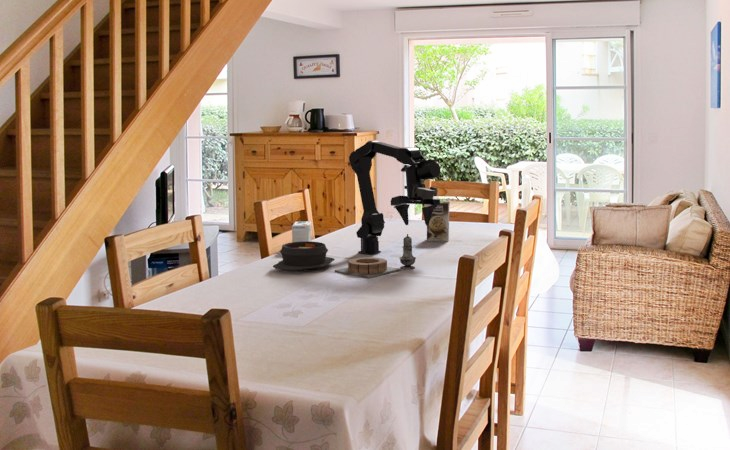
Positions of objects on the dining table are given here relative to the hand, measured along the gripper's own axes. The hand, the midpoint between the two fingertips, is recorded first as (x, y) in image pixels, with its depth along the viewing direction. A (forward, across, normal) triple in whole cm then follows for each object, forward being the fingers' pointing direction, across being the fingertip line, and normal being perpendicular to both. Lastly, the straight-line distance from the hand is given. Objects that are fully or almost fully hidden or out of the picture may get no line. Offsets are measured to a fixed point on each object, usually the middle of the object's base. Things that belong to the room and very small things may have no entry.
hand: (417, 225), depth 291 cm
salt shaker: (+16, -7, -2) cm, 17 cm away
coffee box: (+1, +37, +34) cm, 50 cm away
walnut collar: (+16, -21, +2) cm, 27 cm away
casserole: (+13, -36, +21) cm, 43 cm away
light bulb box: (+4, -18, +51) cm, 54 cm away
